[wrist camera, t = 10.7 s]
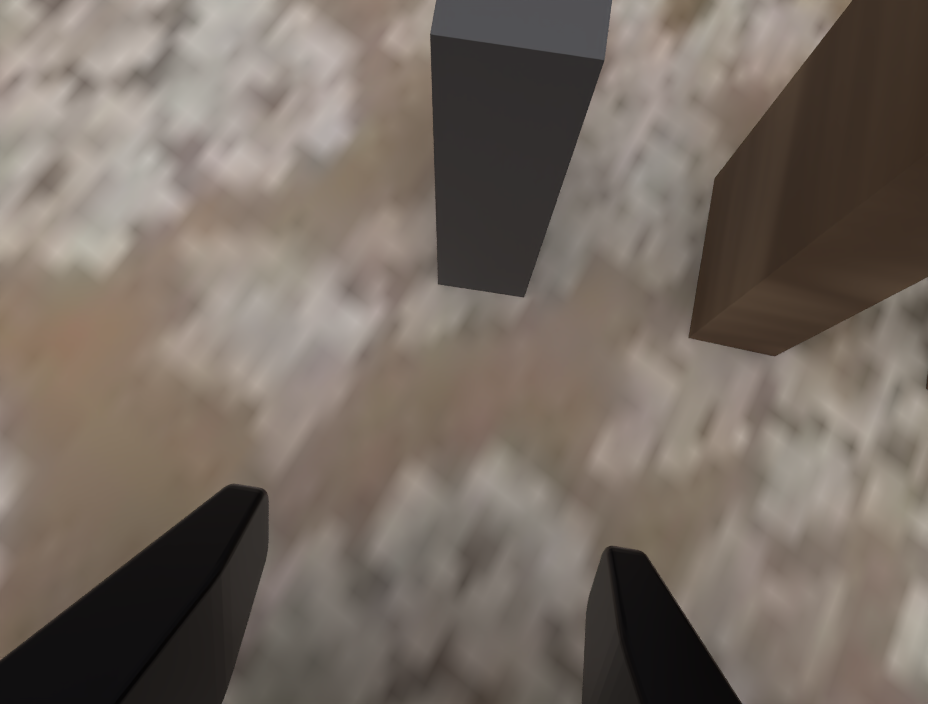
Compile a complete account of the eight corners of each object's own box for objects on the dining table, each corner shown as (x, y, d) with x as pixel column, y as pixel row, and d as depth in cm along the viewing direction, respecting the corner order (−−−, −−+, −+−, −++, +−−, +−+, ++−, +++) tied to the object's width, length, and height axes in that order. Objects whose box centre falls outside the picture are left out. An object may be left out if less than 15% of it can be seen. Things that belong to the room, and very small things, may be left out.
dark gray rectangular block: (546, 138, 20) (641, -231, 10) (523, 297, 19) (604, 60, 10) (464, 126, 20) (480, -254, 10) (437, 284, 19) (430, 34, 10)
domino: (797, 195, 20) (1136, -123, 10) (774, 356, 19) (1119, 176, 9) (714, 178, 20) (973, -156, 10) (688, 338, 19) (942, 139, 9)
